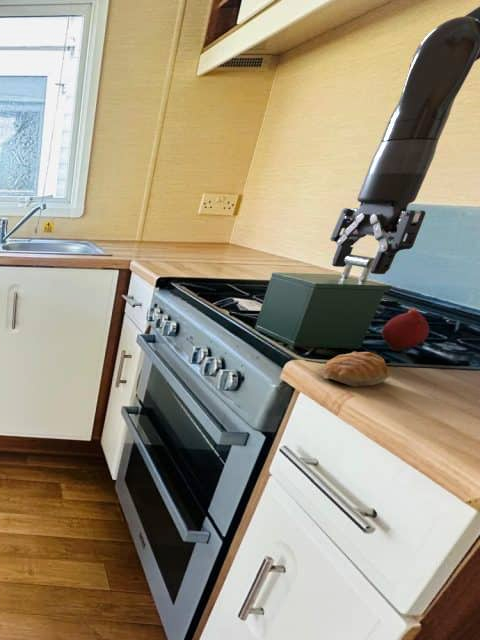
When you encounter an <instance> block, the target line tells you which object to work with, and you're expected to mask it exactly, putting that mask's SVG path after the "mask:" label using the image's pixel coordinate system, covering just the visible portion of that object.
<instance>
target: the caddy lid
mask: <svg viewBox="0 0 480 640" xmlns="http://www.w3.org/2000/svg"><path fill="white" fill-rule="evenodd" d="M375 259H376V257H371V256H364V255H359V254H352V253H351V254H350V255H348V256H347V257H346V258H345V260H344V262H345V263H346V266H345V267H344V270H343V271H342V273H341V274H340V273H339V274H338V273H337V274H336V273H304V272H272V273H271V277H275V278H279V279H283V280H286V281H290V282H294V283H298V284H301V285H305V286H309V287H313V288H332V289H365V290H385V291H391V289H392V285H391V284H386V283H380V282H377V281H372V280H368V277H369V274H370V273H371V269H372V266H373V264H374V261H375ZM353 266H354V267H360V268H363V270H362V272H361V275H360V278H357V277H353V276H349V275H350V273H351V270H352V268H353Z"/></svg>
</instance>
